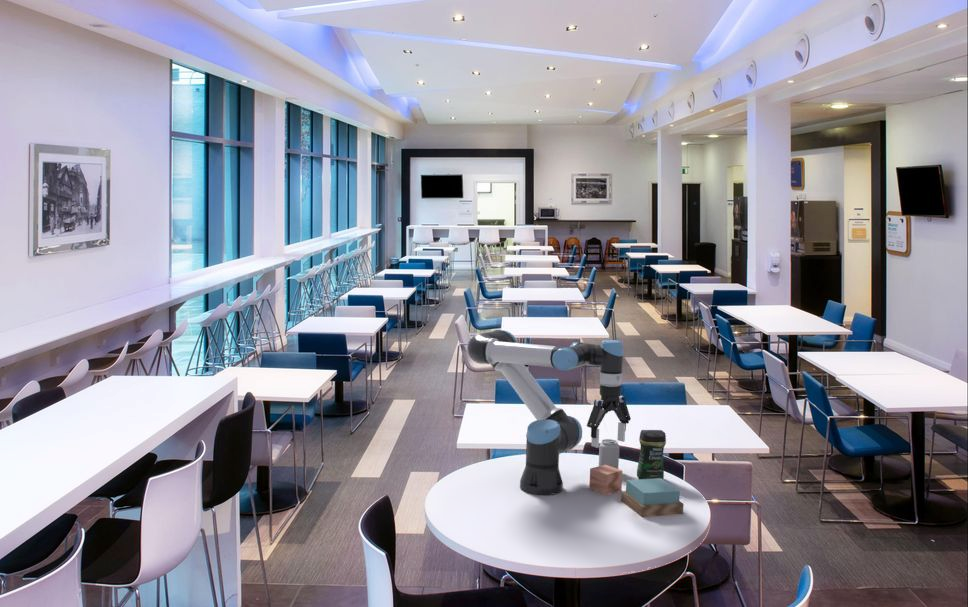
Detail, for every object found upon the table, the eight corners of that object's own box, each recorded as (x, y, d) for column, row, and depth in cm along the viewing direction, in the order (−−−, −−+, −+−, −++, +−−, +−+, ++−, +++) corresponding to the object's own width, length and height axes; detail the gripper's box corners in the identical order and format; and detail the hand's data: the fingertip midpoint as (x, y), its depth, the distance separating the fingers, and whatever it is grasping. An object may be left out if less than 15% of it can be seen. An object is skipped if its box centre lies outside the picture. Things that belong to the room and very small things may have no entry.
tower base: (641, 518, 253) (642, 506, 252) (620, 502, 267) (621, 491, 266) (682, 515, 257) (683, 503, 256) (660, 499, 271) (661, 488, 271)
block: (606, 495, 272) (607, 474, 271) (589, 489, 278) (590, 468, 278) (621, 491, 277) (622, 470, 277) (604, 484, 283) (605, 464, 283)
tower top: (643, 505, 254) (643, 493, 253) (625, 491, 266) (626, 480, 266) (679, 502, 257) (679, 491, 257) (660, 489, 270) (661, 478, 269)
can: (617, 475, 294) (619, 444, 293) (597, 473, 296) (599, 442, 295) (618, 469, 302) (619, 439, 300) (598, 467, 303) (600, 437, 302)
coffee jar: (641, 482, 287) (644, 433, 285) (634, 475, 295) (636, 427, 293) (666, 482, 288) (669, 432, 286) (658, 475, 296) (661, 427, 294)
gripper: (594, 390, 263) (591, 451, 265) (642, 382, 279) (639, 440, 281) (578, 386, 269) (575, 446, 271) (626, 379, 285) (623, 436, 287)
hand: (608, 443), depth 276 cm, fingers open, 13 cm apart
